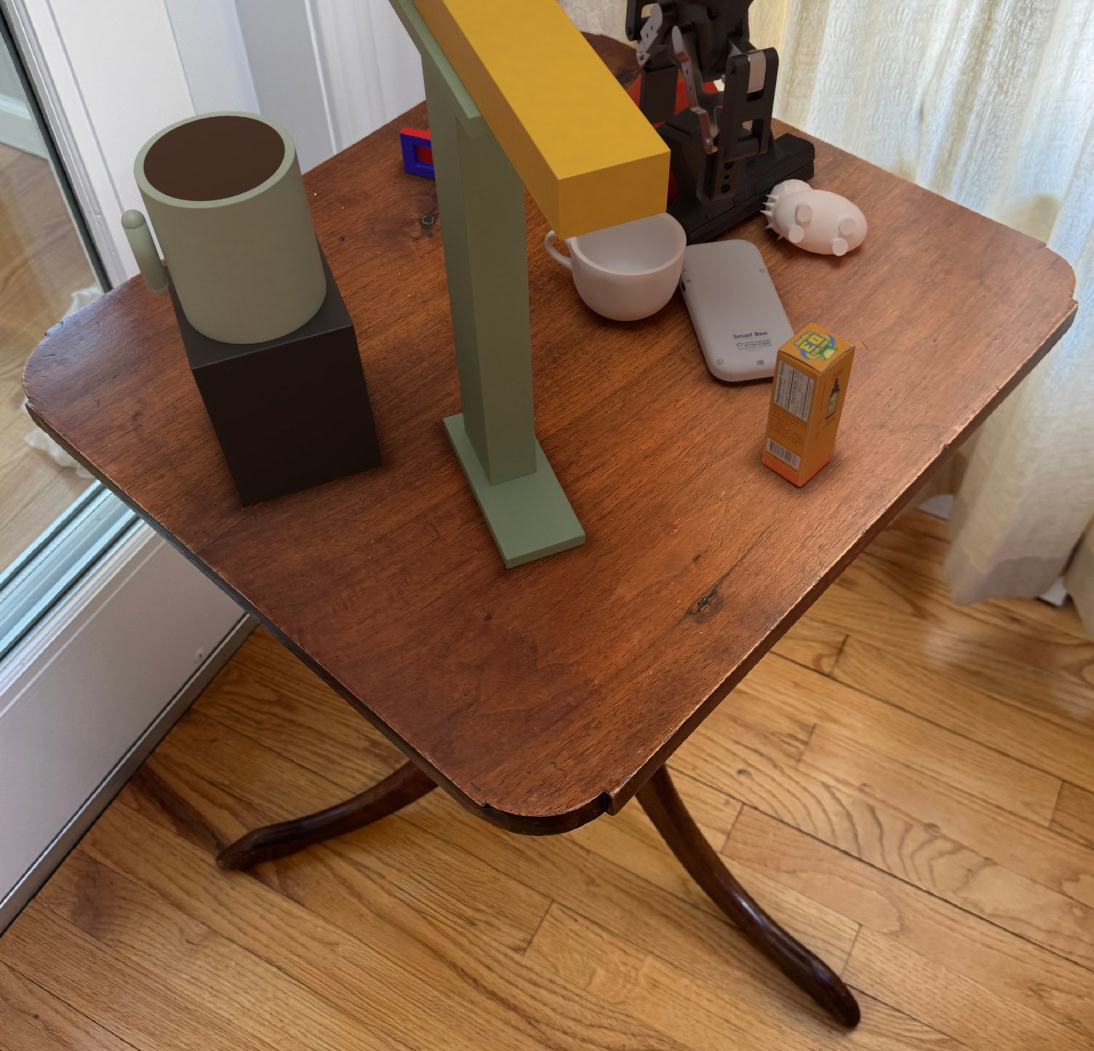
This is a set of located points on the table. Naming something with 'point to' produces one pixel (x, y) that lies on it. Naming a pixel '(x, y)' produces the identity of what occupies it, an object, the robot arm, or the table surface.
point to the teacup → (626, 266)
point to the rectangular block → (554, 111)
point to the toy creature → (814, 218)
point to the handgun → (753, 181)
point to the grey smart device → (734, 310)
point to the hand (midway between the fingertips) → (684, 158)
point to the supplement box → (806, 402)
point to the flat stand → (489, 318)
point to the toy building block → (417, 152)
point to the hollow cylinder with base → (253, 302)
